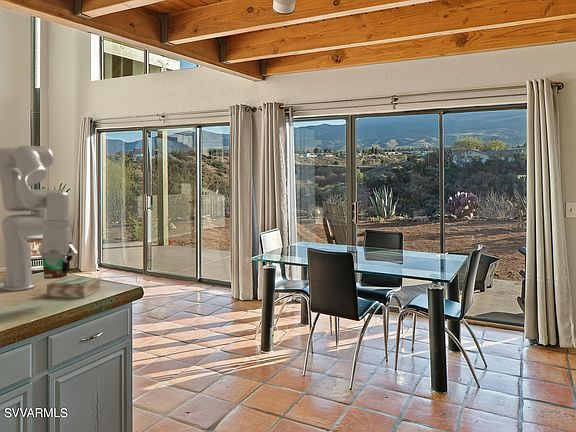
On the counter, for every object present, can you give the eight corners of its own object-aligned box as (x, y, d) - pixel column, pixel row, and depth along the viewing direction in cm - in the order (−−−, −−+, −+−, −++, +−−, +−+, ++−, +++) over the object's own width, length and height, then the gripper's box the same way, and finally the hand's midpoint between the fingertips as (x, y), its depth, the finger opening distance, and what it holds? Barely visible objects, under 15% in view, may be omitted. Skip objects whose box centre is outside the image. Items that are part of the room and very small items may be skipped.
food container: (56, 280, 169) (55, 253, 168) (41, 279, 170) (40, 252, 169) (77, 273, 181) (77, 248, 180) (63, 272, 182) (63, 247, 181)
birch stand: (46, 296, 187) (46, 283, 186) (64, 289, 199) (64, 276, 199) (84, 298, 185) (83, 284, 185) (99, 290, 197) (99, 278, 197)
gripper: (29, 224, 171) (30, 272, 173) (73, 226, 169) (74, 275, 171) (42, 221, 178) (43, 268, 180) (84, 224, 176) (85, 270, 178)
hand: (58, 271), depth 175 cm, fingers closed on food container, 5 cm apart
